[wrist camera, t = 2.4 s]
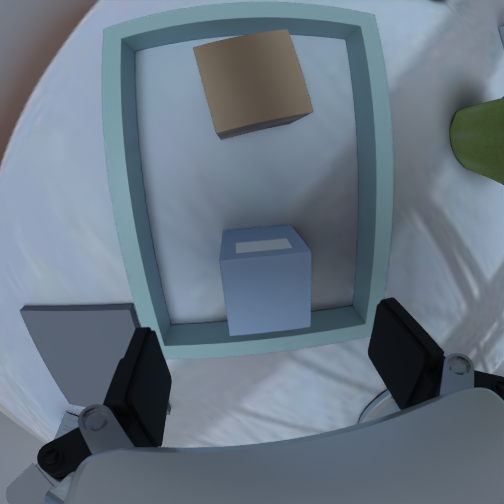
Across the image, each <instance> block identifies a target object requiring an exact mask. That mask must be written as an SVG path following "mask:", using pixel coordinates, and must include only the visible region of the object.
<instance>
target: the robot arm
mask: <svg viewBox="0 0 504 504" xmlns="http://www.w3.org/2000/svg"><path fill="white" fill-rule="evenodd" d="M443 354H444V351H443V350H442V349H441V348H440V347H439V346H438V344H437V343H436V342H435V341H434V340H433V339H432V338H431V337H430V335H429V334H428V333H427V332H426V331H425V330H424V329H423V328H422V327H421V326H420V325H419V323H418V322H417V321H416V320H415V319H414V318H413V317H412V316H411V315H410V314H409V313H408V312H407V311H406V310H405V308H404V307H403V306H402V305H401V304H400V303H399V302H398V301H397V300H396V299H395V298H387V299H382V300H381V301H380V303H379V304H377V307H376V313H375V318H374V324H373V329H372V334H371V339H370V344H369V348H368V355H369V358H370V360H371V361H372V363H373V365H374V366H375V368H376V370H377V371H378V373H379V375H380V376H381V378H382V380H383V381H384V383H385V385H386V387H387V388H388V390H387V391H385V392H384V393H383V394H381V395H380V396H379V397H378V398H376V399H375V400H374V401H373V402H372V403H371V404H370V405H369V406H368V407H367V408H366V410H365V411H364V412H363V414H362V415H361V417H360V420H359V424H357V425H353V426H350V427H346V428H342V429H338V430H334V431H330V432H325V433H321V434H316V435H311V436H306V437H300V438H295V439H289V440H282V441H275V442H268V443H260V444H251V445H240V446H225V447H198V448H168V447H161V445H162V441H163V434H164V427H165V420H166V414H167V407H168V401H169V395H170V389H171V383H172V380H171V375H170V372H169V369H168V367H167V364H166V361H165V358H164V355H163V352H162V349H161V346H160V343H159V340H158V337H157V334H156V332H155V330H151V328H150V327H137V328H136V329H135V331H134V334H133V336H132V338H131V341H130V343H129V346H128V348H127V351H126V353H125V356H124V358H122V359H120V361H119V363H118V365H117V368H116V370H115V373H114V375H113V378H112V381H111V383H110V386H109V388H108V391H107V394H106V397H105V399H104V402H103V405H101V404H93V405H91V406H88V407H86V408H85V409H84V410H83V411H82V412H81V413H80V415H79V417H78V426H79V427H77V428H75V429H73V430H72V431H70V432H68V433H66V434H64V435H62V436H61V437H59V438H57V439H55V440H53V441H51V442H49V443H47V444H45V445H44V446H43V447H42V448H41V449H40V450H39V453H38V456H37V461H38V463H37V464H36V465H35V464H33V463H32V464H31V465H30V466H29V467H28V468H27V469H26V470H25V471H24V472H23V473H22V474H21V475H20V476H19V477H18V478H16V479H15V480H14V481H13V482H12V483H11V484H10V485H9V486H8V488H7V490H6V498H7V501H8V503H9V504H504V377H502V376H497V375H493V374H488V373H484V372H480V371H476V370H474V364H473V362H472V361H471V360H470V359H469V358H468V357H467V356H465V355H463V354H458V353H454V354H450V355H448V356H447V357H445V356H444V355H443ZM158 446H160V447H158Z"/></svg>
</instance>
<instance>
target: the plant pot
mask: <svg viewBox="0 0 504 504" xmlns="http://www.w3.org/2000/svg"><path fill="white" fill-rule="evenodd" d="M450 138H451V144H452V148H453V151H454V154H455V156H456V158H457V159H458V160H459V161H460V162H461V163H462V164H463V166H464V167H465V168H466V169H469V170H471V171H473V172H476V173H478V174H481V175H483V176H486V177H488V178H490V179H492V180H495V181H497V182H499V183H501V184H503V185H504V97H503V98H501V99H497V100H493V101H490V102H486V103H482V104H478V105H474V106H471V107H467V108H464V109H461V110H459V111H457V112H456V114H455V118H454V120H453V122H452V124H451V127H450Z"/></svg>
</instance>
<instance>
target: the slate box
mask: <svg viewBox="0 0 504 504" xmlns="http://www.w3.org/2000/svg"><path fill="white" fill-rule="evenodd" d="M311 264H312V254H311V250H310V249H309V248H308V247H307V245H306V244H305V243H304V241H303V240H302V239H301V237H300V236H299V235H298V234H297V232H296V231H295V230H294V228H293V227H292V226H291V225H280V226H269V227H258V228H247V229H236V230H226V231H223V236H222V244H221V253H220V268H221V276H222V283H223V291H224V298H225V305H226V312H227V319H228V326H229V332H230V336H235V335H246V334H256V333H266V332H275V331H283V330H291V329H299V328H306V327H310V319H311Z"/></svg>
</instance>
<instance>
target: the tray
mask: <svg viewBox="0 0 504 504" xmlns="http://www.w3.org/2000/svg"><path fill="white" fill-rule="evenodd" d="M284 29H288V32H289V35H308V36H320V37H330V38H339V39H346V45H347V51H348V57H349V64H350V71H351V79H352V87H353V96H354V106H355V118H356V132H357V150H358V191H359V198H358V240H357V259H356V274H355V286H354V297H353V306H348V307H342V308H336V309H329V310H322V311H315V312H311V319H310V327H306V328H299V329H291V330H283V331H275V332H266V333H256V334H246V335H235V336H230V332H229V326H228V321H223V322H210V323H195V324H177V325H171V323H170V319H169V315H168V311H167V307H166V303H165V299H164V295H163V291H162V286H161V282H160V277H159V272H158V268H157V263H156V258H155V253H154V248H153V242H152V237H151V231H150V225H149V219H148V213H147V207H146V200H145V193H144V186H143V178H142V170H141V161H140V151H139V140H138V128H137V113H136V93H135V51H139V50H143V49H147V48H152V47H156V46H161V45H166V44H171V43H177V42H183V41H189V40H196V39H203V38H212V37H222V36H234V35H249V34H255V33H261V32H268V31H276V30H284ZM102 118H103V133H104V146H105V156H106V165H107V174H108V181H109V188H110V195H111V201H112V208H113V213H114V219H115V224H116V230H117V235H118V239H119V244H120V249H121V253H122V258H123V262H124V266H125V270H126V274H127V278H128V282H129V286H130V290H131V293H132V297H133V300H134V304H135V307H136V311H137V314H138V317H139V321H140V324H141V327H150V328H151V330H155V332H156V334H157V337H158V340H159V343H160V346H161V349H162V352H163V355H164V358H165V359H194V358H214V357H228V356H241V355H252V354H262V353H271V352H279V351H287V350H294V349H302V348H308V347H315V346H321V345H327V344H333V343H338V342H344V341H349V340H354V339H359V338H364V337H369V336H371V334H372V329H373V324H374V318H375V313H376V307H377V304H379V303H380V301H381V300H382V299H384V296H385V290H386V282H387V274H388V266H389V257H390V246H391V233H392V217H393V183H394V171H393V137H392V122H391V110H390V100H389V91H388V83H387V75H386V69H385V62H384V56H383V51H382V46H381V41H380V36H379V31H378V27H377V22H376V18H375V15H374V14H369V13H365V12H360V11H355V10H349V9H344V8H337V7H331V6H323V5H314V4H303V3H288V2H239V3H224V4H213V5H204V6H196V7H190V8H183V9H177V10H172V11H167V12H162V13H157V14H153V15H149V16H145V17H141V18H137V19H133V20H130V21H126V22H123V23H120V24H117V25H113V26H110V27H107V28H105V29H104V31H103V46H102Z"/></svg>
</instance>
